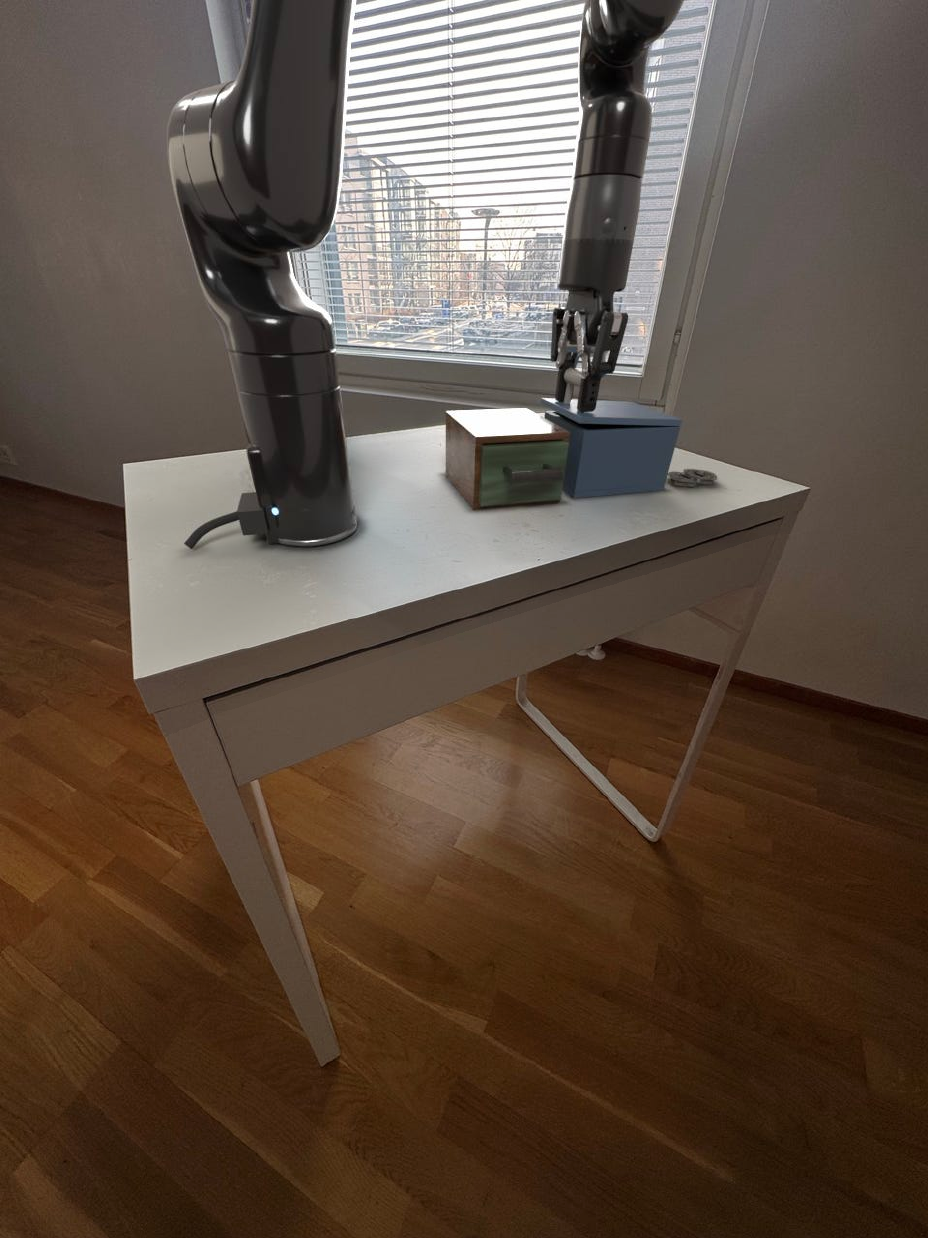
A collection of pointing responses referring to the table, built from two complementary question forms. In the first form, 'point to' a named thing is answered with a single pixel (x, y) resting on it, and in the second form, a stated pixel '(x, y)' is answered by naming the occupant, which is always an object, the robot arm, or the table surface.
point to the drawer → (521, 472)
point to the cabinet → (490, 427)
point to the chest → (615, 457)
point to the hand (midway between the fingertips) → (574, 405)
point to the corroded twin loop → (691, 477)
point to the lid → (606, 409)
